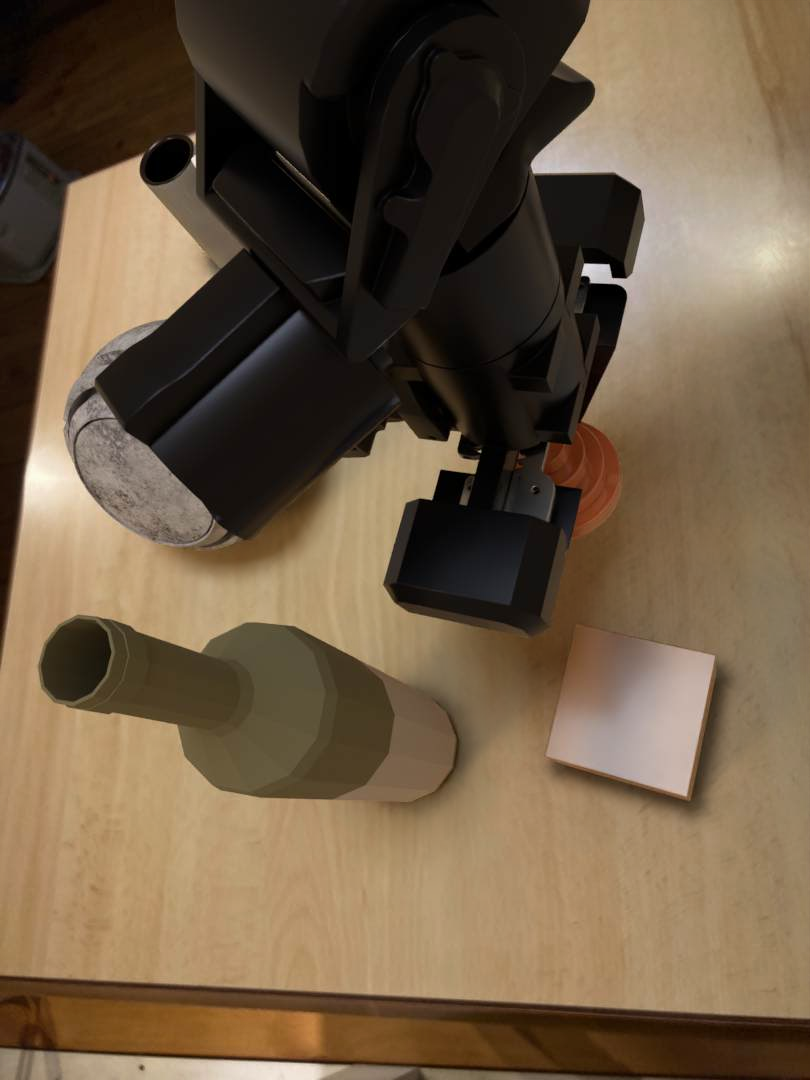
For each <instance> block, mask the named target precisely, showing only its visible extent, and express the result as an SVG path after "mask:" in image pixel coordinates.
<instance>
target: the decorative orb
mask: <svg viewBox="0 0 810 1080" xmlns="http://www.w3.org/2000/svg"><path fill="white" fill-rule="evenodd" d="M167 319H168V318H166V319H158V320H154V321H150V322H146V323H143V324H140V325H138V326H134V327H133V328H130V329H128V330H127V331H124V332H122V333H120V334H119V335H117V336H116V337H115V338H113V339H111V340H110V341H109V342H107V343H106V344H105V345H104V346H103V347H101V348H100V349H99V350H98V351H97V352H96V353H95V355H93V356H92V358H91V359H90V360H89V362H88V363H87V364H86V365H85V367H84V369H83V370H82V371H81V374H80V376H79V377H78V378H77V379H76V380H75V382H73V384H72V386H71V387H70V389H69V391H68V395H67V398H66V401H65V406H64V410H63V417H62V420H63V421H64V422H65V425H64V427H63V430H62V431H63V437H64V443H65V446H66V448H67V452H68V454H69V456H70V458H71V460H72V463H73V465H74V468H75V471H76V474H77V475H78V478H79V480H80V482H81V483H82V485H83V486H84V488H85V489H86V491H87V492H88V493H89V495H90V496H91V498H92V500H94V501H95V502H96V503H97V505H99V507H100V508H101V509H102V511H105V513H106V514H108V515H109V516H110V517H111V518H112V519H113V520H115V521H116V522H117V523H119V524H120V525H121V526H123V527H124V528H125V529H127V530H129V531H130V532H132V533H134V534H136V535H138V536H140V537H142V538H144V539H146V540H148V541H151V542H153V543H157V544H161V545H164V546H169V547H175V548H179V549H183V550H186V549H187V548H193V549H194V550H195V551H196V552H197V551H198V552H199V551H200V552H206V551H207V552H209V551H216V550H220V549H223V548H225V547H229V546H232V545H233V544H236V543H240V542H241V541H242V540H243V541H244V539H242V538H239V537H237V536H235V535H233V534H232V533H230V532H228V531H227V530H225V529H224V528H222V527H221V526H220V525H219V524H218V523H217V522H216V521H215V520H214V518H213V517H212V515H211V514H210V513H209V511H208V510H207V508H206V507H205V505H204V504H203V503H202V501H201V500H199V499H198V498H197V497H196V496H195V495H194V494H193V493H192V492H191V491H190V490H189V489H187V488H186V487H185V486H184V485H183V484H182V483H181V482H180V481H179V480H178V479H177V478H176V477H175V476H174V475H173V474H172V473H171V472H170V470H169V469H168V468H167V467H166V466H165V465H164V464H163V463H162V462H161V461H160V459H159V458H158V457H157V456H156V455H155V454H154V453H153V452H152V451H151V449H150V448H149V447H148V446H147V445H145V444H144V443H142V442H140V441H139V440H137V439H136V438H134V437H133V436H131V435H130V434H128V433H127V432H125V431H124V430H123V428H122V427H121V425H120V424H119V422H118V421H117V419H116V418H115V416H114V415H113V413H112V412H111V410H110V409H109V407H108V406H107V405H106V403H105V402H104V400H103V399H102V397H101V396H100V394H99V393H98V391H97V390H96V388H95V386H94V385H95V378H96V377H97V376H98V375H99V374H100V373H101V372H102V371H103V370H104V369H105V368H106V367H107V366H108V365H110V364H111V363H112V362H113V361H114V360H115V359H116V358H117V357H118V356H119V355H120V354H121V353H123V352H124V351H125V350H126V349H128V348H129V347H130V346H132V345H133V344H135V343H137V342H138V341H140V340H142V339H143V338H145V337H146V336H148V335H150V334H151V333H152V332H153V331H154V330H156V329H157V328H158V327H159V326H160V325H161V324H162V323H164V322H165V321H166V320H167Z"/></svg>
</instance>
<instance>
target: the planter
mask: <svg viewBox="0 0 810 1080" xmlns="http://www.w3.org/2000/svg"><path fill="white" fill-rule="evenodd" d="M194 155H196V142H195V141H193V139H192V138H191V137H190V136H189V135H187V134H184V133H181V132H173V133H168V134H165V135H163V136H161V137H159V138H158V139H156V140H155V141H154V142H152V143H151V145H150V146H149V147H148V148H147V149H146V150H145V152H144V153H143V155H142V158H141V159H140V162H139V169H138V170H139V172H138V173H139V176H140V178H141V181H142V182H143V184H145V185H146V187H148V189H149V190H150V191H151V192H152V193H153V194H154V196H155V197H156V198H157V199H158V200H159V201H160V202H161V204H162V205H163V206H164V207H165V208H166V210H168V212H169V213H170V214H171V215H172V216H173V217H174V218H175V219H176V221H177V222H178V223H179V224H180V225H181V227H183V229H184V230H185V231H186V232H187V233H188V234H189V236H191V238H192V240H194V241H195V242H196V243H197V245H198V246H199V247H200V248H201V249H202V250H203V251H204V253H205V254H206V255H207V256H208V257H209V259H211V261H212V262H213V263H214V264H215V265H216V266H217V267H218V268H219V269H221V268H222V267H224V266H225V265H226V264H227V263H228V262H229V261H230V260H231V259H232V258H233V257H234V256H235V255H236V254H237V253H239V252H240V251H241V250H242V249H243V248H242V247H241V246H240V245H239V244H238V243H237V241H236V240H235V239H234V238H233V237H232V235H231V234H230V233H229V232H228V231H227V229H226V228H225V227H224V226H223V225H222V224H221V223H220V222H219V221H218V220H217V218H216V217H215V216H214V215H213V214H212V213H211V212H210V211H209V210H208V209H207V208H206V207H205V205H204V204H203V203H202V202H201V201H200V200H199V199H198V197H197V195H196V168H195V166H194V165H193V163H192V161H191V159H192V157H193V156H194Z"/></svg>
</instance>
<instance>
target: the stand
mask: <svg viewBox="0 0 810 1080" xmlns="http://www.w3.org/2000/svg"><path fill="white" fill-rule="evenodd" d="M716 678H717V655H716V654H715V653H710V652H705V651H699V650H695V649H691V648H686V647H681V646H678V645H673V644H670V643H669V644H668V643H664V642H659V641H654V640H651V639H646V638H641V637H637V636H633V635H627V634H623V633H620V632H619V633H618V632H614V631H610V630H604V629H601V628H596V627H591V626H586V625H584V624H583V625H582V624H576V625H575V629H574V632H573V637H572V640H571V644H570V649H569V653H568V658H567V662H566V666H565V669H564V673H563V679H562V681H561V686H560V690H559V695H558V699H557V703H556V706H555V710H554V715H553V717H552V718H553V719H552V723H551V727H550V731H549V735H548V740H547V743H546V748H545V752H544V758H547V759H549V760H551V761H553V762H556V763H557V764H561V765H563V766H567V767H570V768H573V769H576V770H581V771H584V772H587V773H590V774H594V775H596V776H597V775H598V776H600V777H604V778H608V779H611V780H615V781H618V782H622V783H625V784H628V785H631V786H635V787H639V788H643V789H646V790H649V791H653V792H657V793H660V794H663V795H667V796H671V797H672V798H673V797H674V798H677V799H680V800H684V801H688V802H691V800H692V796H693V791H694V786H695V782H696V776H697V771H698V767H699V761H700V757H701V752H702V748H703V747H702V746H703V743H704V737H705V732H706V727H707V724H708V723H707V722H708V718H709V712H710V708H711V704H712V703H711V702H712V697H713V692H714V688H715V683H716Z"/></svg>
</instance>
